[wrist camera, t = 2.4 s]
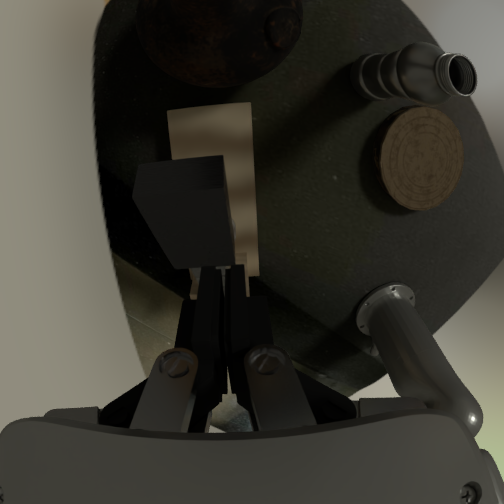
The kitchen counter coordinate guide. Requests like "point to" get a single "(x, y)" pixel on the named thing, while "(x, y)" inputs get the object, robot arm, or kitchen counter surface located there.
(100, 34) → the kitchen counter surface
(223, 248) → the lever
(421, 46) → the plastic bottle
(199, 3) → the glass bottle
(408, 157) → the brown round flat disc
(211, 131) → the nutcracker base
